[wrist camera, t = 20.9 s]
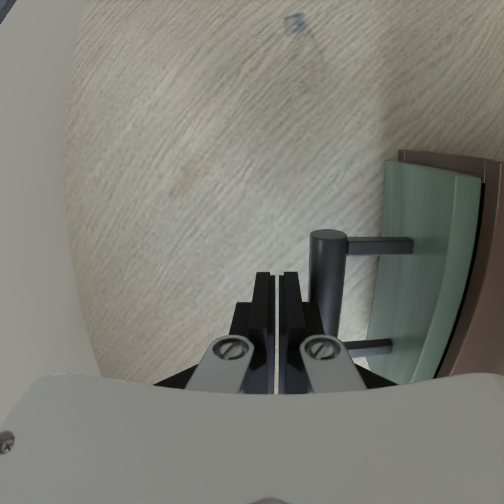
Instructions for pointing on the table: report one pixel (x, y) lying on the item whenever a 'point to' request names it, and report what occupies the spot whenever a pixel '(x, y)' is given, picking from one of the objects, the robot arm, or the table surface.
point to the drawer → (407, 269)
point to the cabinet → (477, 272)
